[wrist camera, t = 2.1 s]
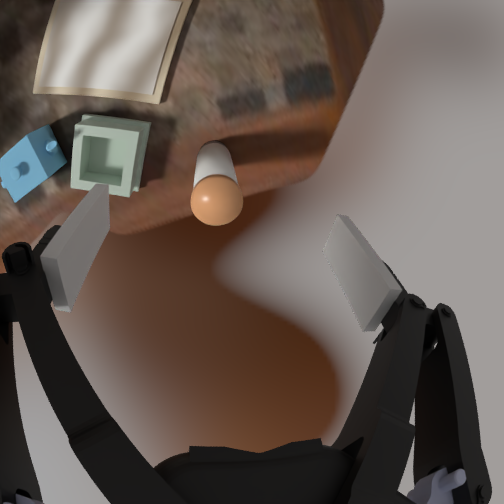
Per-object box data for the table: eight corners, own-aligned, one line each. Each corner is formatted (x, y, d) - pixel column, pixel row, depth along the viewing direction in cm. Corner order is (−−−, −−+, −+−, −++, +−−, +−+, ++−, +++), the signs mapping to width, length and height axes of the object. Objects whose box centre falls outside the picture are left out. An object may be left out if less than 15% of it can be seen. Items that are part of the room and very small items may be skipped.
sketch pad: (35, 93, 24) (32, 94, 23) (60, -5, 17) (57, -6, 16) (159, 103, 29) (158, 104, 28) (193, -2, 22) (193, -4, 21)
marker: (193, 166, 34) (186, 220, 23) (201, 134, 32) (197, 173, 21) (225, 173, 36) (234, 229, 24) (234, 142, 33) (249, 185, 22)
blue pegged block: (70, 109, 27) (41, 120, 21) (89, 148, 30) (64, 167, 24) (13, 153, 28) (-17, 173, 22) (30, 187, 31) (4, 211, 25)
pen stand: (79, 178, 32) (67, 190, 29) (85, 113, 28) (72, 119, 24) (139, 188, 35) (132, 201, 32) (151, 122, 30) (144, 128, 27)
